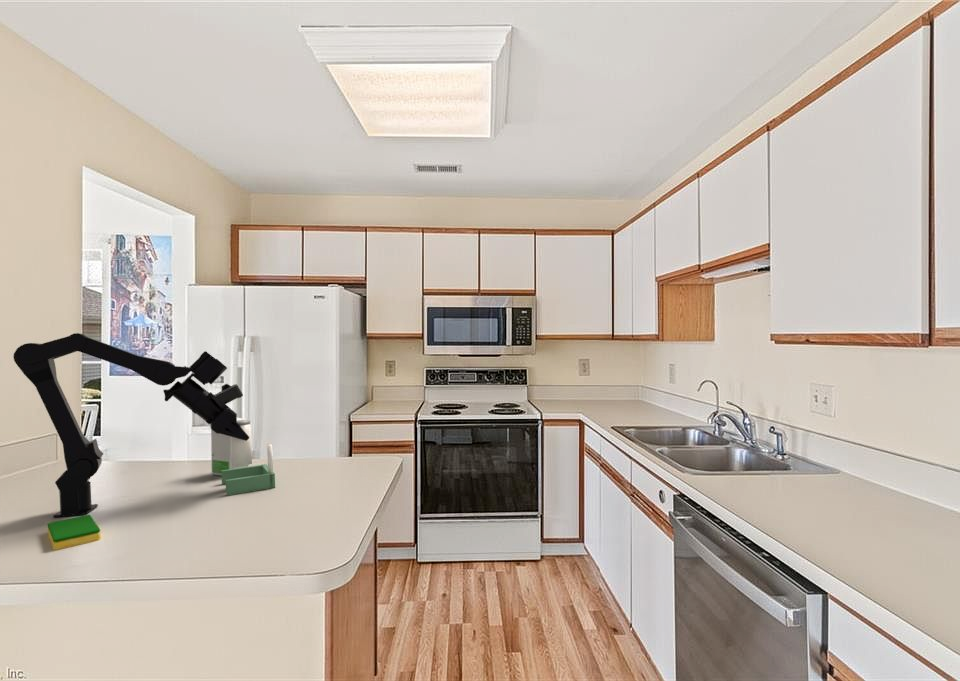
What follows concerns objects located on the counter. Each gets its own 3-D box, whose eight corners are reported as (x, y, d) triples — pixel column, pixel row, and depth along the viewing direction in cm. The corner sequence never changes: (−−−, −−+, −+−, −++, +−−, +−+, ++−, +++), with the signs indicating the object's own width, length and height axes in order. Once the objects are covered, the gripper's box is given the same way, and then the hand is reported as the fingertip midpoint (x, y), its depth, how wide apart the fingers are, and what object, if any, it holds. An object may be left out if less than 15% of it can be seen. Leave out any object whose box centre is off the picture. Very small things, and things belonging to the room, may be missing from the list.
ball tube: (250, 465, 139) (248, 421, 139) (230, 467, 138) (228, 423, 138) (253, 461, 144) (251, 419, 144) (233, 463, 143) (231, 420, 143)
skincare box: (211, 475, 155) (208, 420, 155) (231, 469, 161) (229, 416, 161) (231, 477, 151) (228, 421, 151) (251, 471, 157) (248, 417, 157)
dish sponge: (54, 552, 100) (53, 539, 100) (47, 534, 111) (47, 522, 111) (100, 541, 105) (100, 529, 105) (90, 525, 115) (90, 514, 115)
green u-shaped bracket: (226, 495, 133) (224, 452, 133) (221, 483, 145) (220, 443, 145) (275, 487, 139) (273, 446, 139) (266, 476, 150) (265, 438, 150)
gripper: (225, 375, 131) (275, 417, 136) (218, 373, 147) (263, 410, 153) (188, 412, 127) (242, 453, 132) (186, 405, 143) (233, 442, 149)
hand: (246, 437), depth 142 cm, fingers closed on ball tube, 5 cm apart
